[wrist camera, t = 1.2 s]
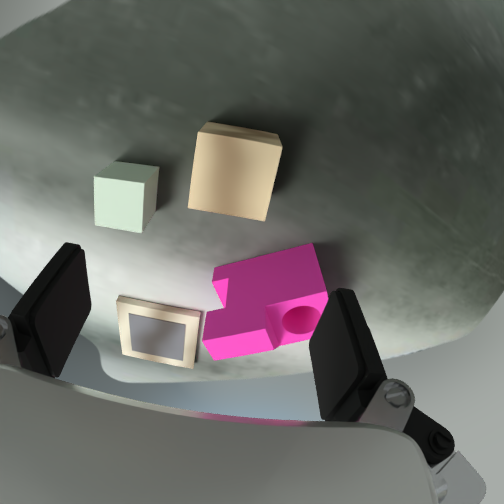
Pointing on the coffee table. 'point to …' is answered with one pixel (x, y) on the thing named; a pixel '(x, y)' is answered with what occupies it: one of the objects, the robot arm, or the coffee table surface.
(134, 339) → the birch board
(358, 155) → the coffee table surface
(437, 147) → the coffee table surface
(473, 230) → the coffee table surface
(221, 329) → the bracket
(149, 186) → the sage cube
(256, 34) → the coffee table surface
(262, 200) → the oak block
